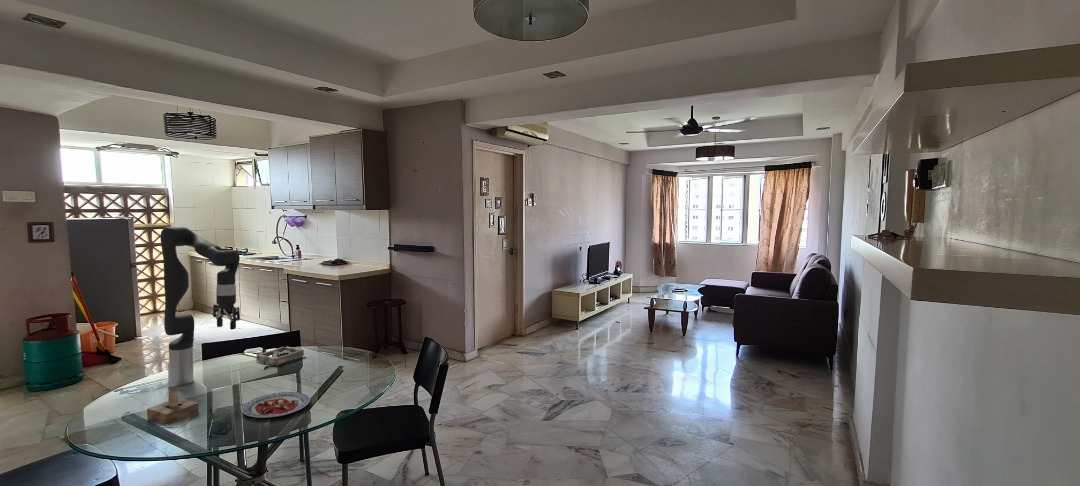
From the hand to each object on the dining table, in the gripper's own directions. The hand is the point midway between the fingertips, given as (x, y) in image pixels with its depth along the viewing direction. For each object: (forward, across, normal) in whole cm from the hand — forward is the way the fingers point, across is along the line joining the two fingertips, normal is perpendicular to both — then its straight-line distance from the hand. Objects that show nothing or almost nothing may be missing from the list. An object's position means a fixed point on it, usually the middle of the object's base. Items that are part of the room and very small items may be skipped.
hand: (226, 328), depth 214 cm
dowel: (+30, +5, -26) cm, 40 cm away
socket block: (+30, +5, -26) cm, 40 cm away
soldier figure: (+30, -17, +40) cm, 53 cm away
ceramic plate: (+31, +35, -3) cm, 47 cm away
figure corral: (+30, -16, +43) cm, 55 cm away
